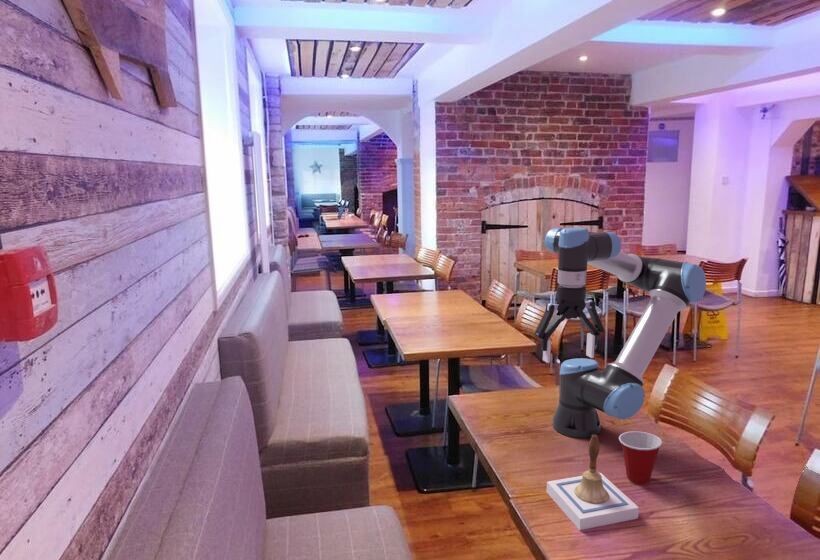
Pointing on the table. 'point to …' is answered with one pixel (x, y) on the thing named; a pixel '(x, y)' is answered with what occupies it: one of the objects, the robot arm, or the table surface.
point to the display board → (591, 504)
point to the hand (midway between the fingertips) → (568, 359)
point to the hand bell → (592, 478)
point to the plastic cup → (639, 455)
